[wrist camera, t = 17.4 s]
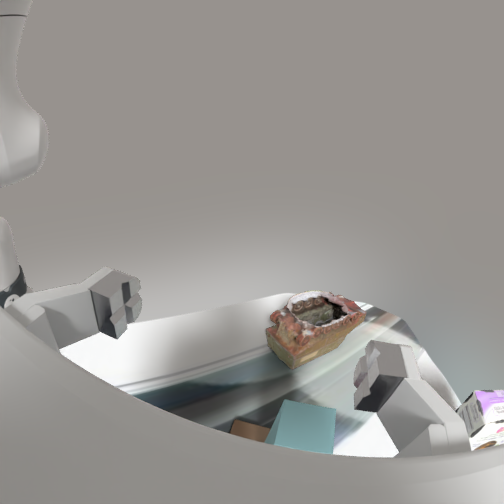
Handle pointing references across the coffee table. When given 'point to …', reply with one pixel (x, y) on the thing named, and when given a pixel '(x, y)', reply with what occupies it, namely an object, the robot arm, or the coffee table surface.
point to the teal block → (303, 427)
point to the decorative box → (311, 326)
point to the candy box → (484, 418)
